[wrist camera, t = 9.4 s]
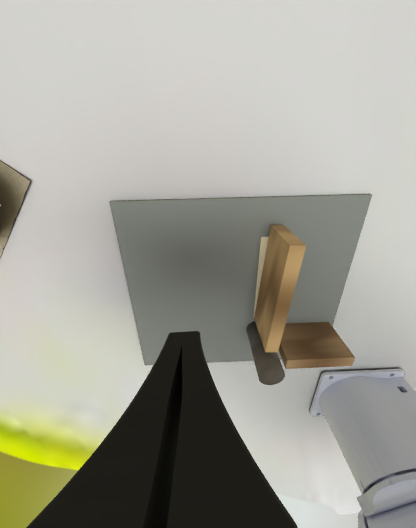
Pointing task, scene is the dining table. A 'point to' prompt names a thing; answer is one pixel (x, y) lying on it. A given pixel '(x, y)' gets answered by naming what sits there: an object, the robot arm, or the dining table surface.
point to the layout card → (229, 264)
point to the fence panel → (277, 285)
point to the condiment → (10, 199)
